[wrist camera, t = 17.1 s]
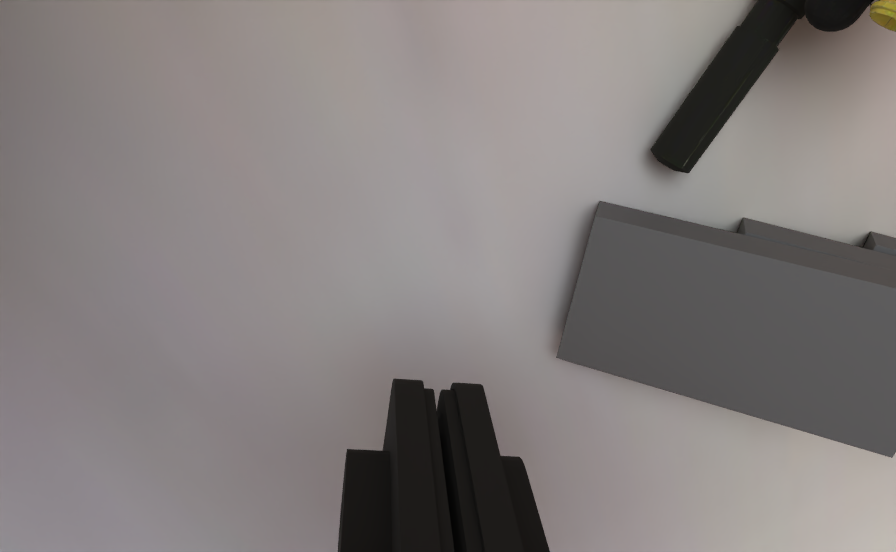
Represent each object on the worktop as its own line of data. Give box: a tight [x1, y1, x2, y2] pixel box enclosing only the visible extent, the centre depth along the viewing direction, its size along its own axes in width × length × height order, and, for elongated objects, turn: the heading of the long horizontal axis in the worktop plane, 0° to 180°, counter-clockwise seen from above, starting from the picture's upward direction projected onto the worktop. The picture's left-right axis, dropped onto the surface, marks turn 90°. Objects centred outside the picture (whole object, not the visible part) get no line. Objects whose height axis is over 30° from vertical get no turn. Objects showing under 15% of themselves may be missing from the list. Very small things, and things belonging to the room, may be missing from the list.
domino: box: [556, 201, 896, 458], centre depth 18 cm, size 2×5×10 cm
